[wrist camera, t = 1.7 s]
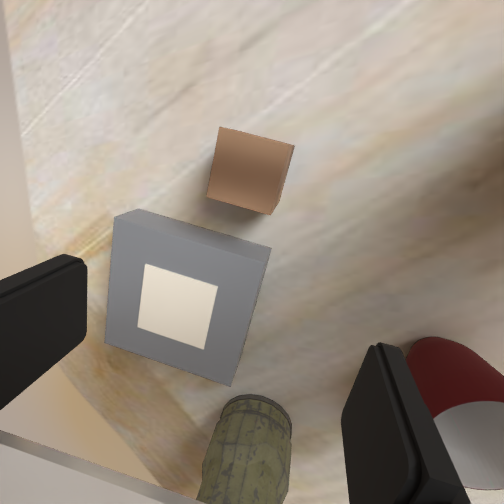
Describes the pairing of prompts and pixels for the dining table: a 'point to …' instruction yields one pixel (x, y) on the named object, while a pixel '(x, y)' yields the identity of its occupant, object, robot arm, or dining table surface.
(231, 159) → the walnut block
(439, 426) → the mug
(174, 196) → the dining table surface
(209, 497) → the thermos
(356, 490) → the robot arm
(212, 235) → the slate pedestal
